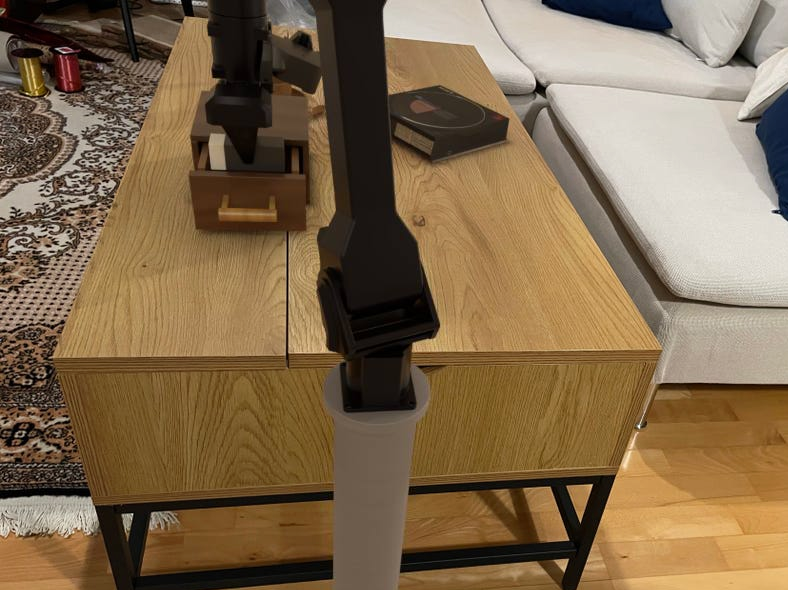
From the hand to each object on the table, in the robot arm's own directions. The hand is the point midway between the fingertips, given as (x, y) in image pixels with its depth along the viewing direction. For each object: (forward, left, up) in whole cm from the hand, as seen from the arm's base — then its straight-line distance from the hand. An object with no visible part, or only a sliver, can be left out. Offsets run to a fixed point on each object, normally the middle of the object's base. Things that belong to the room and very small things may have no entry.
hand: (248, 157), depth 81 cm
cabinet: (+12, 0, -8) cm, 15 cm away
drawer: (0, 0, -7) cm, 7 cm away
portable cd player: (+30, -27, -8) cm, 41 cm away
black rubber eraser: (0, 0, -1) cm, 1 cm away
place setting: (+41, -3, -8) cm, 42 cm away
